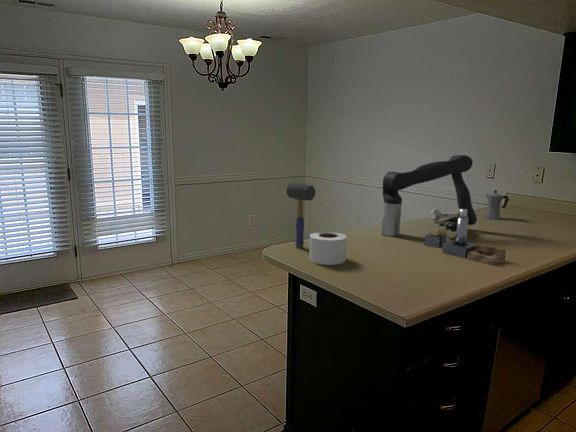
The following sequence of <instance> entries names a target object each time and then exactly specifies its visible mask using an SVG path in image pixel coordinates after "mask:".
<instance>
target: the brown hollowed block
mask: <svg viewBox="0 0 576 432" xmlns="http://www.w3.org/2000/svg"><path fill="white" fill-rule="evenodd" d="M477 245H478V246H477V249H475V250H472V251H469V252H467V258H466V259H467V260H471V261H474V262H479V263H481V264H487V265H490V266H496V265H499V264H501V263H503V261H504V262H505V260H506V252H507V250H506V249H503V248H498V247H494V246H489V245H485V244H480V243H478V244H477Z"/></svg>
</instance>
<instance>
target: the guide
mask: <svg viewBox="0 0 576 432" xmlns="http://www.w3.org/2000/svg"><path fill="white" fill-rule="evenodd" d="M446 242H447V233H446V234H442V235H440V236H439V237H435V236H431V232H430V233H427V234H425V235H424V246H427V247H433V248H438V249H440V247H443V243H446Z"/></svg>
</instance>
